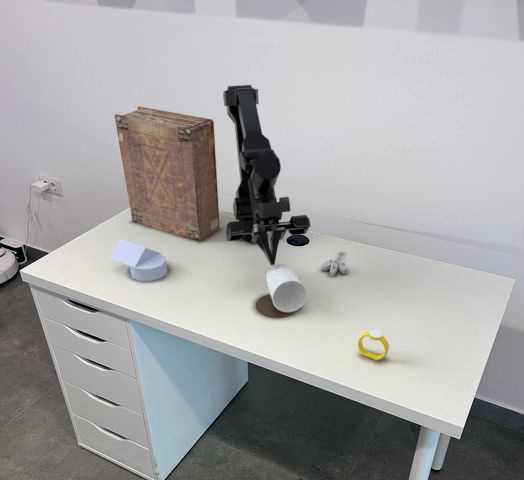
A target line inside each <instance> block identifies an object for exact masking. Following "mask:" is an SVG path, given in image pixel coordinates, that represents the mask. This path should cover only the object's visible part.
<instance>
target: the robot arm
mask: <svg viewBox="0 0 524 480" xmlns="http://www.w3.org/2000/svg"><path fill="white" fill-rule="evenodd" d="M226 88H227V89H226V90H223V91H222V98H223V106H224V107H226V114H227V116H228V117H229V119H230V120H231V122H232V123H233V124H234V131H235V133H234V134H235V143H236V151H237V161H238V171H239V181H240V182H239V184H238V187H237V188H236V191H235V197H234V200H233V204H232V211H233V216H234V218H235V221H229V222H228V223H226V227H225V238H226V241H227V242H239V241H244V242H248V243H251V244H255V243H256V245H257V246H258V247H259V248H260V250H261V251H262V253H263V254H264V256H265V258H266V260H267V262H268V264H269V265H270V266H275V265H276V260H277V254H278V248H279V243H280V241H282V240H283V239H284V237H285V236H286V233H287V231H288V233H289V234H290V235H291V236H301V235H306V234H307V232H308V231H309V229H310V228H311V220H310V218H309V216H308V215H306V214H302V215H300V214H299V215H292V216H291V217H290V218H289V220H288V221H281V220H282V217H283V213H289V212H291V202H290V197H289V196H282V197H279V198H278V199H277V197H276V189H275V186H276V185H277V181H278V178H279V176H280V172H281V170H282V169H281V168H282V166H281V161H280V160H281V159H280V158H279V156H278V155H277V154H276V152H275V150H274V149H272V146H271V143H270V140H269V138H268V137H267V136H265V135H264V134H263V130H262V126H261V121H260V117H259V112H258V106H257V105H259V104H260V103H259V88H254V87H253V86H252V84H240V85H227V87H226ZM280 221H281V222H280ZM268 233H270V234H271V235H270V237H269V236H268Z"/></svg>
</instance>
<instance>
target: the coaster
mask: <svg viewBox="0 0 524 480" xmlns="http://www.w3.org/2000/svg"><path fill="white" fill-rule="evenodd" d="M255 310H256V311H257V312H258V313H259V314H261V315H263V316H265V317H268V318H275V319H279V318H286V317H289V316H292V315H294V314H295V313H296V311H293V312H282V311H280V310H278V309H277V308H276V307H275V306H274V304H273V301H272V299H271V296H270V293H269V294H264V295H263V296H261V297H259V298H258V299H257V300H256V302H255Z"/></svg>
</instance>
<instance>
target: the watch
mask: <svg viewBox="0 0 524 480" xmlns="http://www.w3.org/2000/svg"><path fill="white" fill-rule="evenodd" d="M366 337H368V338H369V339H370V340H373V341H380V343H381V344H382V346H383V348H384V351H383V354H376V353H372V352H371V351H368V350H367V349H366V348H365V346H364V344H363V339H364V338H366ZM357 347H358V351H359V352H360V353H361V354H362V356H365V357H367V358H370V359H372V360H374V361H379V360H382V359H384V358H385V357H386V356H387V354H388V353H389V350H390V349H389V348H390V344H389V342H388V340H387V338H386V337H385V336H384V333H383V332H382V330H380V329H378V328H373V329H370V330H369V331H365V332H364V333H362V334H361V336H359V339H358V341H357Z"/></svg>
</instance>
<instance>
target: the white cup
mask: <svg viewBox="0 0 524 480" xmlns="http://www.w3.org/2000/svg"><path fill="white" fill-rule="evenodd" d="M265 280H266V285H267V286H266V287H267V289H268V293H269V294H270V296H271V299H272V301H273V304H274V306H275V307H276V308H277V309H278V310H280V311H282V312H293V311H295V312H296V311H298V310H300V309H301V308H302V307H303V306H304V305H305V304H306V302H307V299H308V290H307V287H306V286H305V284H304V283H303V281H302V280H301V279H300V277H299V276H298V275H297V273H296V272H295V271H294V270H293V269H292V267H291V266H289V265H288V264H285V263H277V264H274V265H272V266H271V267H270V268H269V269H268V271H267V273H266V275H265Z"/></svg>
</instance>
